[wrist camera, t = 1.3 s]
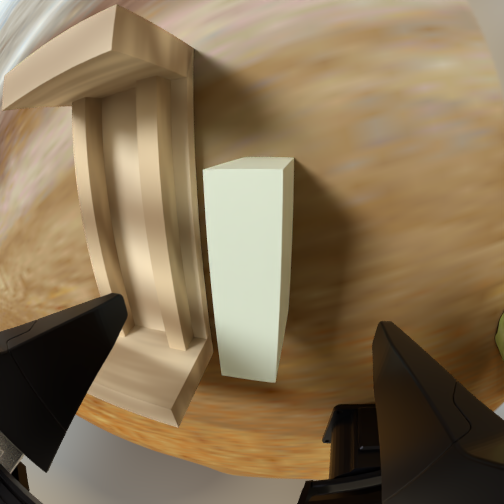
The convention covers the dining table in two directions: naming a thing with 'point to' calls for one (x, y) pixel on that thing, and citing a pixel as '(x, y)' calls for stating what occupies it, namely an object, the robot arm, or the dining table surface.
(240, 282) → the pale green rectangular block
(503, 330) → the plant pot
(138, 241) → the wooden u-shaped holder
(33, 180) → the dining table surface
